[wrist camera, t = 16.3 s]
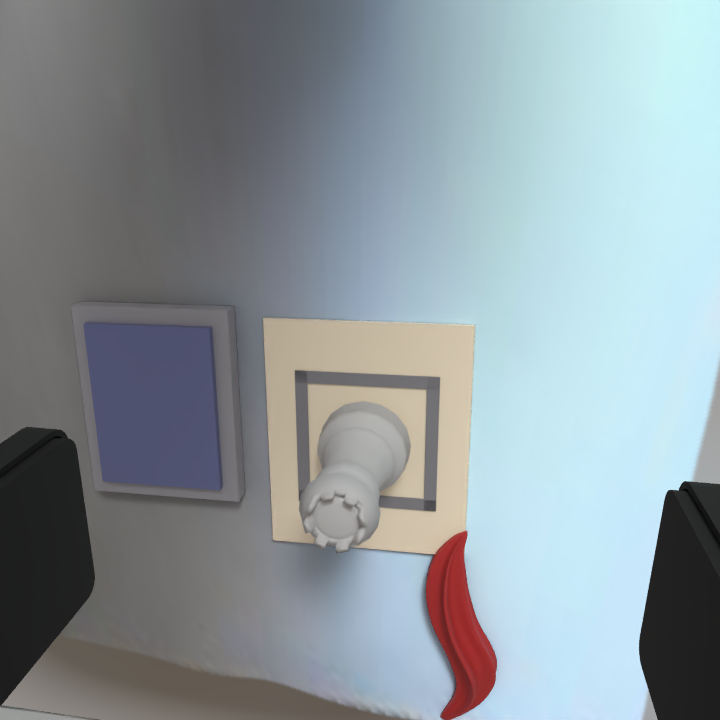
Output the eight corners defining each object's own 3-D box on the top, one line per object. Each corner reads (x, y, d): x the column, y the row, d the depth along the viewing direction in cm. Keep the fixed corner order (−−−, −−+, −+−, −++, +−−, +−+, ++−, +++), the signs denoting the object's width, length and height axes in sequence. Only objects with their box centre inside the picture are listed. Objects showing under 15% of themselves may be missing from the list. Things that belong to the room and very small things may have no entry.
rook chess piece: (369, 498, 34) (339, 595, 27) (304, 439, 34) (254, 520, 26) (431, 441, 33) (417, 527, 25) (363, 379, 32) (329, 446, 25)
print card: (264, 317, 33) (262, 319, 32) (475, 324, 31) (475, 326, 31) (274, 537, 36) (272, 541, 36) (464, 553, 35) (464, 557, 34)
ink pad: (81, 301, 34) (65, 307, 33) (234, 306, 33) (224, 312, 31) (104, 481, 37) (90, 493, 36) (245, 492, 36) (236, 505, 34)
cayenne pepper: (481, 726, 37) (482, 756, 36) (399, 707, 38) (395, 735, 36) (530, 543, 33) (534, 566, 32) (437, 524, 34) (436, 546, 32)
